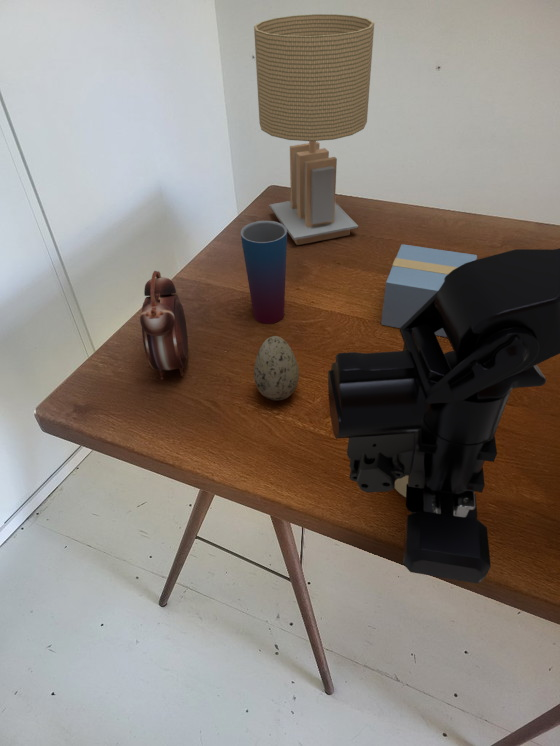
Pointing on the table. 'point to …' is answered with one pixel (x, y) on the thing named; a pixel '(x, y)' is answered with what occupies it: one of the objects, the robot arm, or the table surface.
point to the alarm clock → (163, 325)
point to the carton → (417, 281)
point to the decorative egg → (276, 369)
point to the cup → (266, 268)
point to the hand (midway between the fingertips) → (428, 523)
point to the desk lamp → (313, 108)
